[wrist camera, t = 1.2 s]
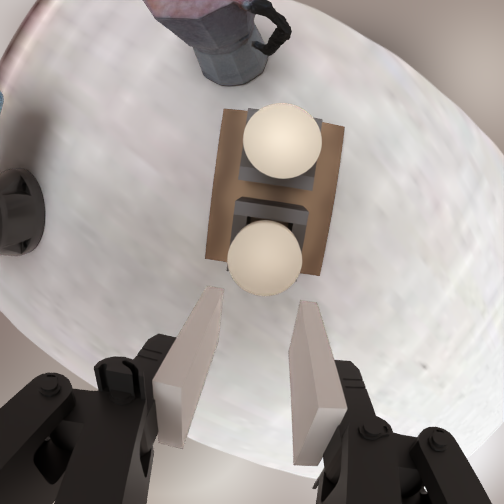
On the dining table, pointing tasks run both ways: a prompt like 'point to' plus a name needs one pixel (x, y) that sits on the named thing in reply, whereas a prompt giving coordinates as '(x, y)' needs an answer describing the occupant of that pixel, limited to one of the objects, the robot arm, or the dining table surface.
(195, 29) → the moka pot
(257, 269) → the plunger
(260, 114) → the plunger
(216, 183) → the mount
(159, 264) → the dining table surface
